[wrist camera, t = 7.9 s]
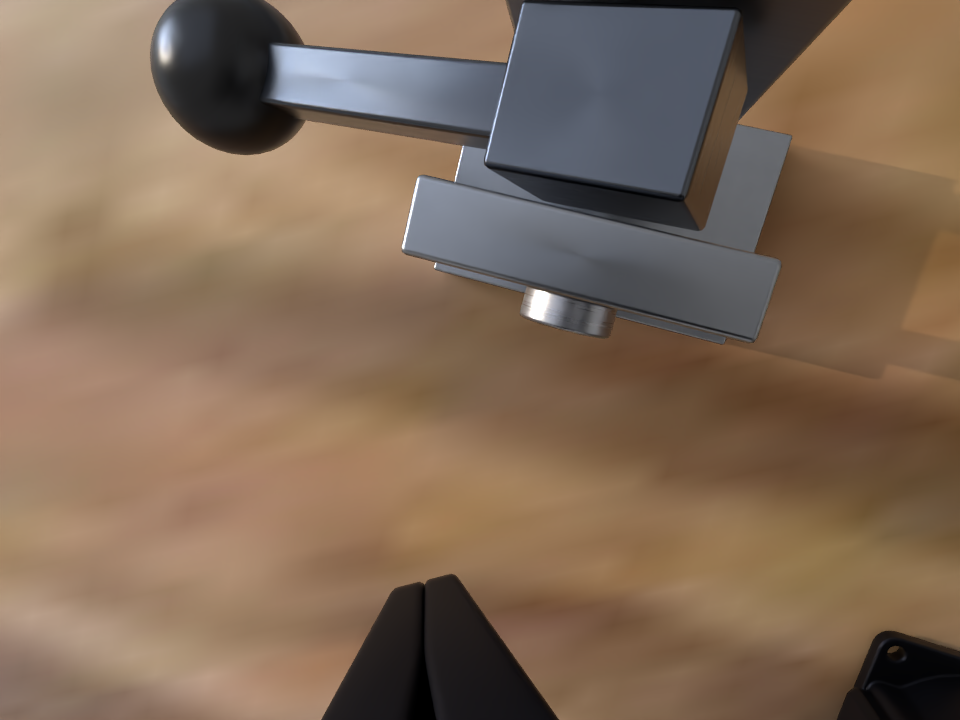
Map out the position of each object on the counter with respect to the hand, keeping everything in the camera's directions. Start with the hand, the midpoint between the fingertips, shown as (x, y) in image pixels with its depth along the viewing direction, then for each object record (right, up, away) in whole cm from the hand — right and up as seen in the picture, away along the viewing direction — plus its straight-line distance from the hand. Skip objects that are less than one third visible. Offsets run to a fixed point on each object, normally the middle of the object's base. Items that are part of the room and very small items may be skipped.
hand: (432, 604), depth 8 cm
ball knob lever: (0, +8, +4) cm, 9 cm away
